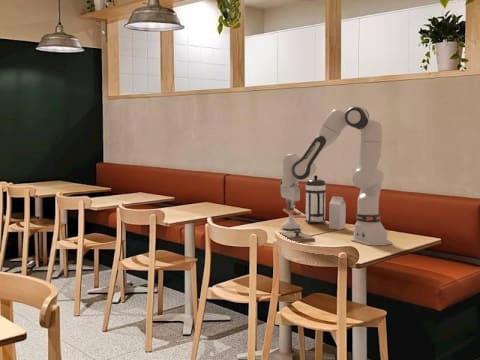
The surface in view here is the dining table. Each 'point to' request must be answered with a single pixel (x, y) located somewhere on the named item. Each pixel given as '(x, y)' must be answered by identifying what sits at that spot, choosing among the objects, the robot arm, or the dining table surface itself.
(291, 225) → the flower in vase
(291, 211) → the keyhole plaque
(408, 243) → the dining table surface
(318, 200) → the coffee press
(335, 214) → the milk carton
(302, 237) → the mount board
